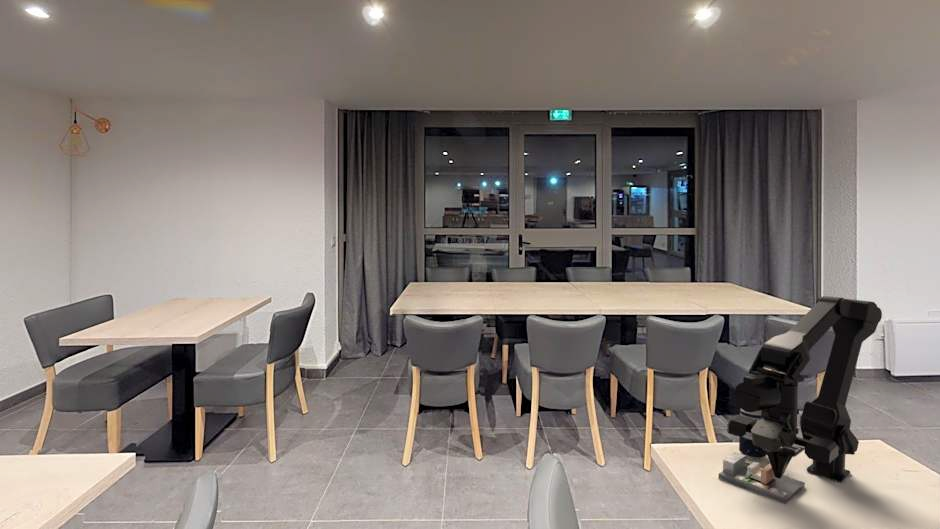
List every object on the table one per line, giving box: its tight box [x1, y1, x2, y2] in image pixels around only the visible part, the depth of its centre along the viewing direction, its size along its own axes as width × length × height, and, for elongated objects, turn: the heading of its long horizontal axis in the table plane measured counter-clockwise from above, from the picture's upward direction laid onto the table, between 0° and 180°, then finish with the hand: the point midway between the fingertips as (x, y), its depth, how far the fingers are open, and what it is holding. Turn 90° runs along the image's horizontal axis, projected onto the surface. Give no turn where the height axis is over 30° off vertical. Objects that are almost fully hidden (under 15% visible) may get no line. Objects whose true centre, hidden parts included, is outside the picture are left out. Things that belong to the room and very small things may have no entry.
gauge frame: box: [718, 451, 806, 505], centre depth 103 cm, size 10×13×4 cm
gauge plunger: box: [746, 461, 775, 484], centre depth 103 cm, size 7×4×3 cm, turn 128°
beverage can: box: [738, 408, 767, 460], centre depth 115 cm, size 6×6×12 cm
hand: (778, 477), depth 100 cm, fingers closed
